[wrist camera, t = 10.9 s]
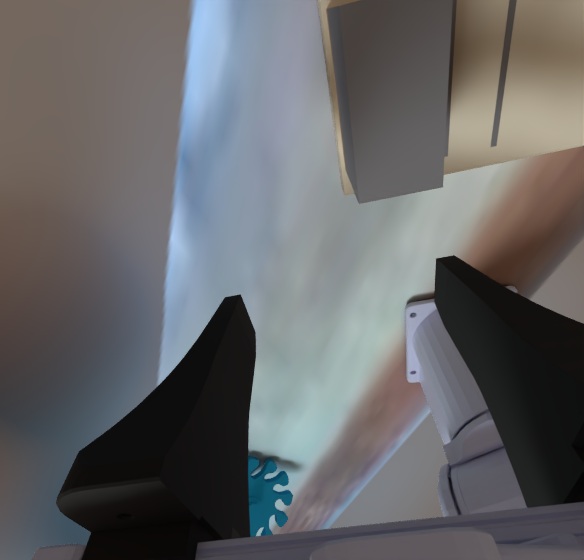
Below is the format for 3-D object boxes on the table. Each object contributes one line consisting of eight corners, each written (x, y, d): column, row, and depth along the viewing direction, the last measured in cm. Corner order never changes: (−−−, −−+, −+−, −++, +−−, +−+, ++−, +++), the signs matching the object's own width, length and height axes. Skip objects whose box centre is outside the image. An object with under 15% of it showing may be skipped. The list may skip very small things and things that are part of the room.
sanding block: (412, 155, 18) (442, 187, 15) (345, 169, 19) (359, 203, 15) (412, -14, 14) (453, -25, 11) (325, 9, 15) (338, 5, 11)
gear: (309, 482, 41) (265, 572, 38) (290, 461, 46) (250, 538, 43) (232, 441, 38) (177, 535, 35) (221, 424, 43) (173, 504, 40)
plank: (573, 138, 19) (589, 144, 18) (341, 187, 21) (344, 195, 20) (644, -127, 13) (672, -138, 12) (312, -34, 15) (315, -37, 14)
